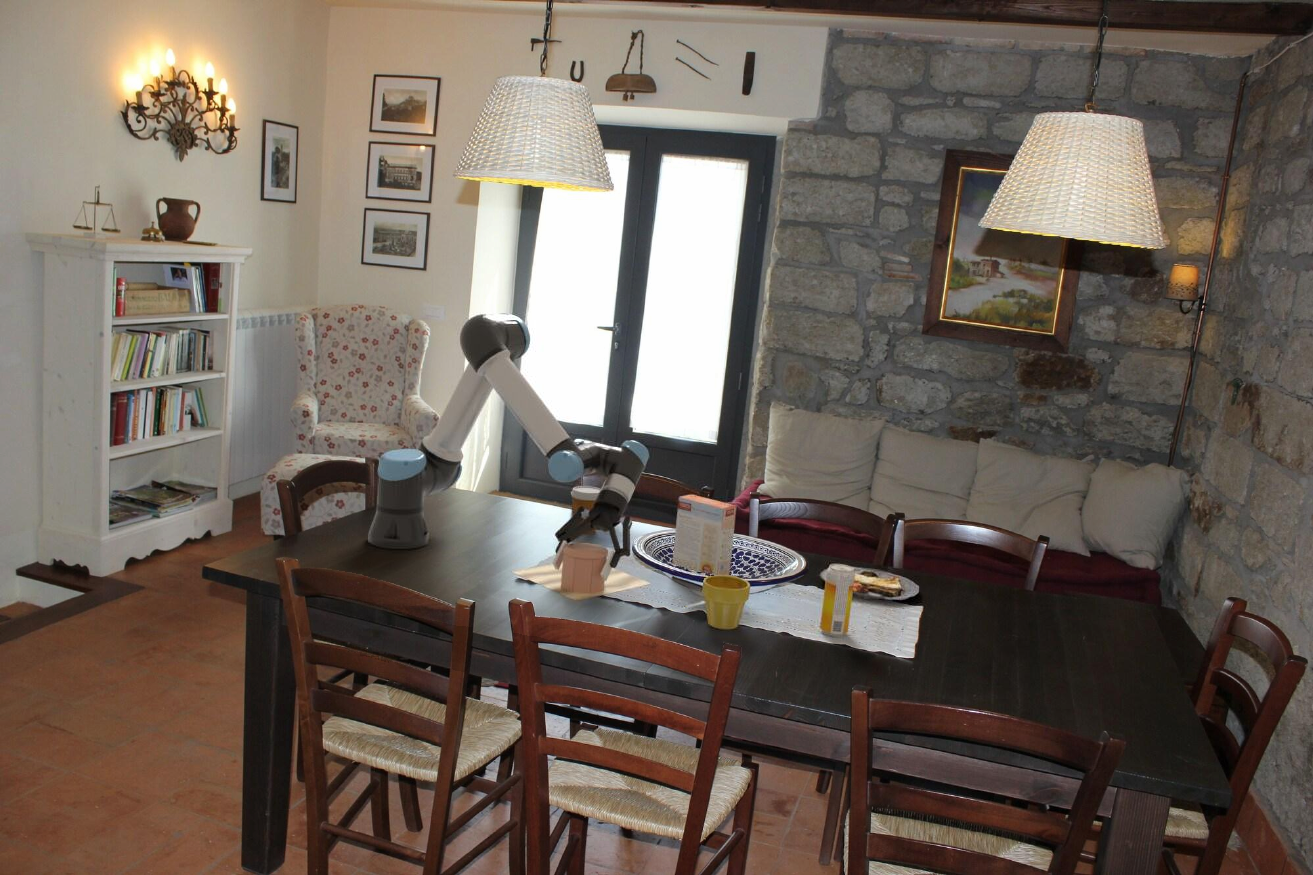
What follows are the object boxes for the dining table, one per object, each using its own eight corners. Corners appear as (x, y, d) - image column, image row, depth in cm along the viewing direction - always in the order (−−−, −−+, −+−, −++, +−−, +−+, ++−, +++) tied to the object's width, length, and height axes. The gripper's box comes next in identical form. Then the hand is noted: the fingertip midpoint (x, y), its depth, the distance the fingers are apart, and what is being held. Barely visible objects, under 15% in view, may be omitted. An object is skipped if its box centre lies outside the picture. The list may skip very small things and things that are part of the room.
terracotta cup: (551, 583, 233) (554, 546, 232) (584, 576, 241) (587, 540, 239) (580, 596, 226) (583, 558, 225) (613, 588, 234) (617, 552, 232)
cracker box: (729, 587, 245) (738, 505, 241) (714, 592, 240) (723, 508, 237) (685, 572, 253) (693, 492, 250) (670, 576, 249) (677, 495, 245)
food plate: (813, 592, 247) (816, 578, 246) (823, 568, 269) (825, 556, 268) (916, 612, 241) (919, 598, 240) (918, 586, 263) (920, 573, 262)
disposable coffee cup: (563, 526, 287) (566, 485, 285) (593, 525, 291) (597, 485, 289) (574, 535, 279) (577, 493, 277) (606, 534, 283) (609, 493, 281)
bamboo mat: (511, 574, 239) (511, 571, 239) (585, 559, 256) (585, 557, 256) (576, 603, 223) (576, 600, 223) (651, 585, 240) (651, 583, 240)
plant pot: (689, 622, 217) (693, 579, 216) (717, 612, 225) (721, 571, 224) (727, 636, 211) (732, 592, 209) (754, 626, 219) (759, 583, 217)
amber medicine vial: (841, 627, 223) (849, 563, 221) (851, 637, 217) (859, 572, 215) (815, 627, 222) (823, 562, 219) (824, 637, 216) (833, 571, 214)
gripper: (662, 514, 240) (629, 591, 229) (575, 497, 249) (539, 569, 238) (655, 496, 234) (621, 574, 223) (566, 479, 244) (529, 553, 232)
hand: (578, 572), depth 230 cm, fingers open, 12 cm apart
